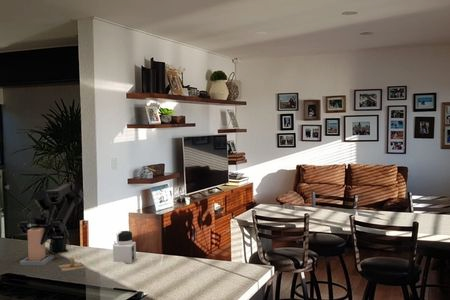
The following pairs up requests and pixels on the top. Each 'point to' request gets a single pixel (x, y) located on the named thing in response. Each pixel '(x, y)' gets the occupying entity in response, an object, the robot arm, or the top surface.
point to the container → (124, 248)
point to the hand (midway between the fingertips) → (35, 244)
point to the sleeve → (36, 244)
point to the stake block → (71, 265)
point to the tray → (46, 259)
